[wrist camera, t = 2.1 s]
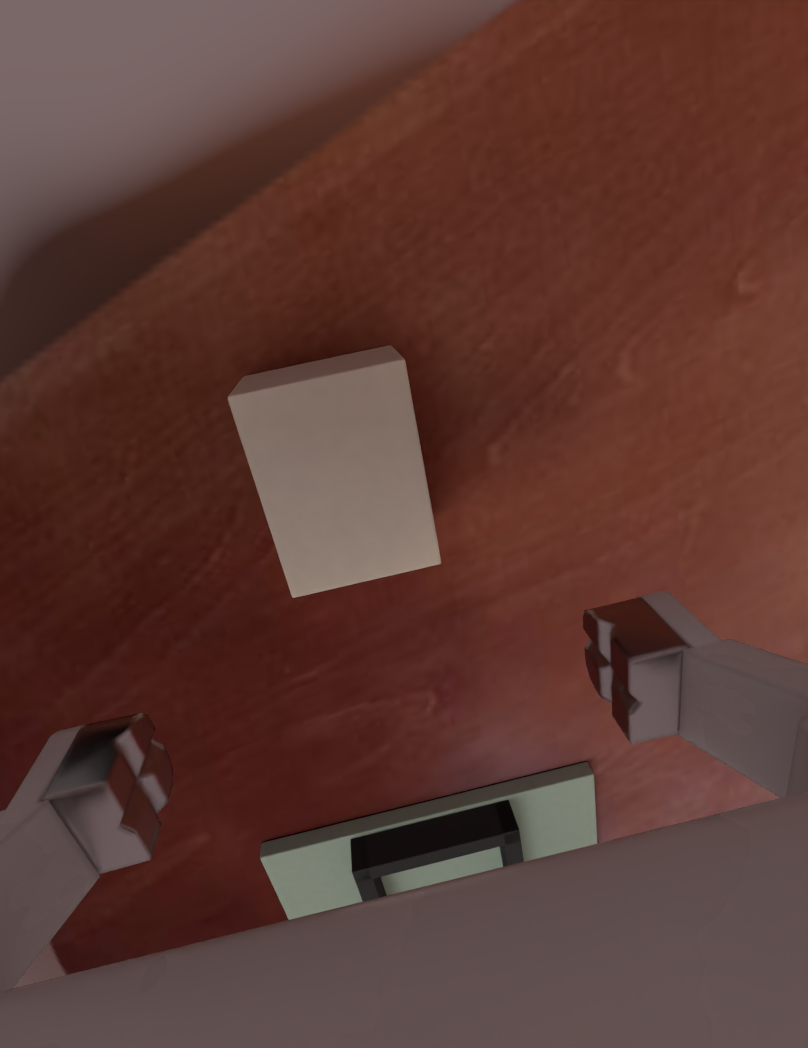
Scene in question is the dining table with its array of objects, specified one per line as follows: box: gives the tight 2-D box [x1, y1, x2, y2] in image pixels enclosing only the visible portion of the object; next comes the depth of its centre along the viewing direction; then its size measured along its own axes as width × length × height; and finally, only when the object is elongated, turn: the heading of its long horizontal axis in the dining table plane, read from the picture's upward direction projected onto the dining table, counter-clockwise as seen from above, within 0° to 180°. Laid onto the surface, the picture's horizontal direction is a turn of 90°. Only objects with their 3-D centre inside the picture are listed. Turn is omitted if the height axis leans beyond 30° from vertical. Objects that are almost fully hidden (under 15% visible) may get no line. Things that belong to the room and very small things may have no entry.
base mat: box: [260, 762, 597, 920], centre depth 35 cm, size 20×16×3 cm
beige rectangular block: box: [227, 345, 441, 598], centre depth 22 cm, size 6×8×4 cm
